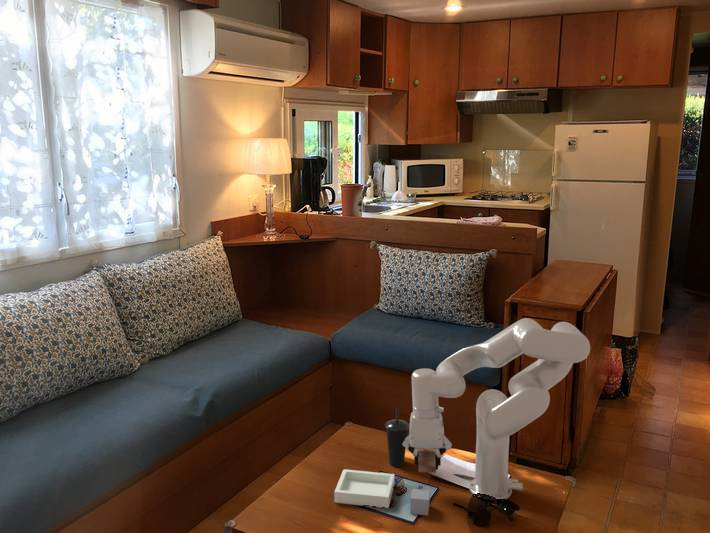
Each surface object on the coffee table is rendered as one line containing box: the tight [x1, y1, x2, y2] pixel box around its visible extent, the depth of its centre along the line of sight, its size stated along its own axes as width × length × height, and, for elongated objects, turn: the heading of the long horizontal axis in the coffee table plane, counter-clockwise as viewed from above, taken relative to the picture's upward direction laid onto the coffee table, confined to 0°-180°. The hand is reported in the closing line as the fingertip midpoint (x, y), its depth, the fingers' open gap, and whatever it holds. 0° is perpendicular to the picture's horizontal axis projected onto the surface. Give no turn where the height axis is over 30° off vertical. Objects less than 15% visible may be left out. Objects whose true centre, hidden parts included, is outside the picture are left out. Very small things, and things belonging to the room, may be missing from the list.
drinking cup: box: [384, 405, 410, 468], centre depth 215 cm, size 8×8×20 cm
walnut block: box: [418, 448, 437, 474], centre depth 198 cm, size 5×5×5 cm
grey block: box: [409, 488, 431, 516], centre depth 190 cm, size 5×5×5 cm
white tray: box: [333, 468, 395, 509], centre depth 199 cm, size 16×13×4 cm
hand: (427, 466), depth 199 cm, fingers closed on walnut block, 5 cm apart
